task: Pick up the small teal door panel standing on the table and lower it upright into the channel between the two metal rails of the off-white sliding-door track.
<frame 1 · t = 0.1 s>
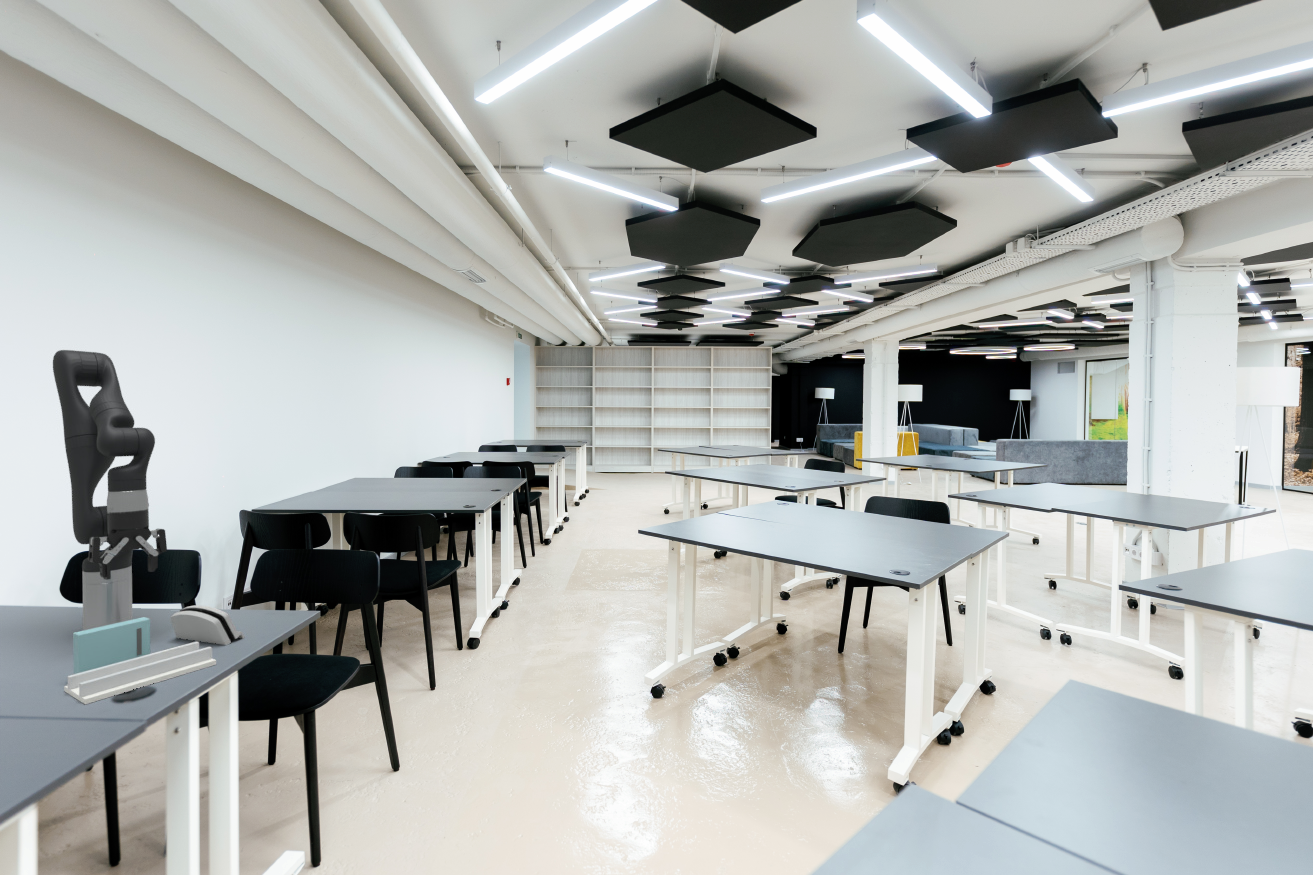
hand: (129, 575, 142), 17 cm above the table, tool pointing down, fingers open, 8 cm apart
grey arched block: (205, 641, 146), on the table
door panel: (113, 670, 128), on the table
door track: (144, 677, 125), on the table
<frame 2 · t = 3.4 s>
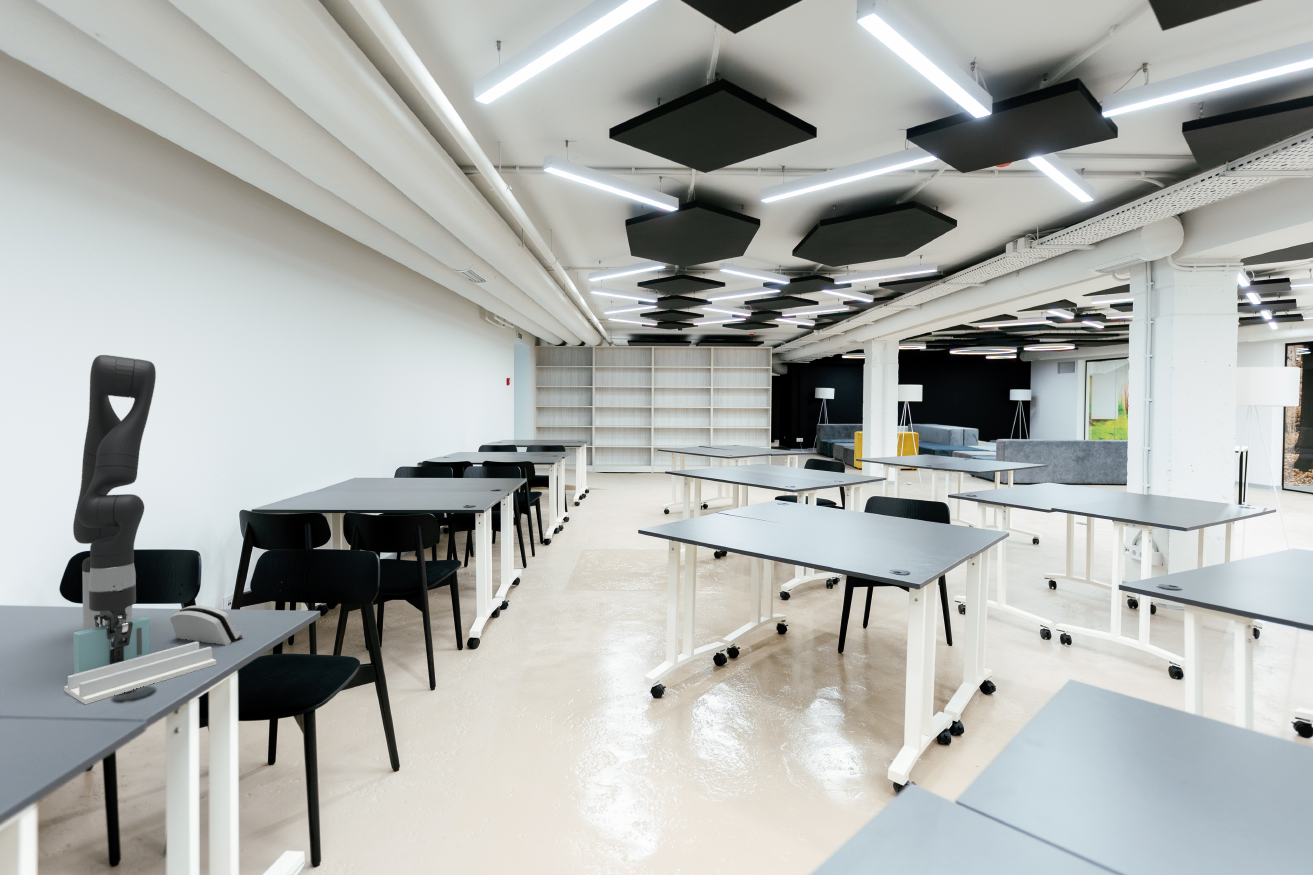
hand: (113, 662, 128), 2 cm above the table, tool pointing down, fingers closed on door panel, 3 cm apart
door panel: (113, 670, 128), on the table, touching gripper
everything else where it was.
when the fingers open (5 cm above the table, at t = 8.7 s): door panel drops 2 cm, resting on door track.
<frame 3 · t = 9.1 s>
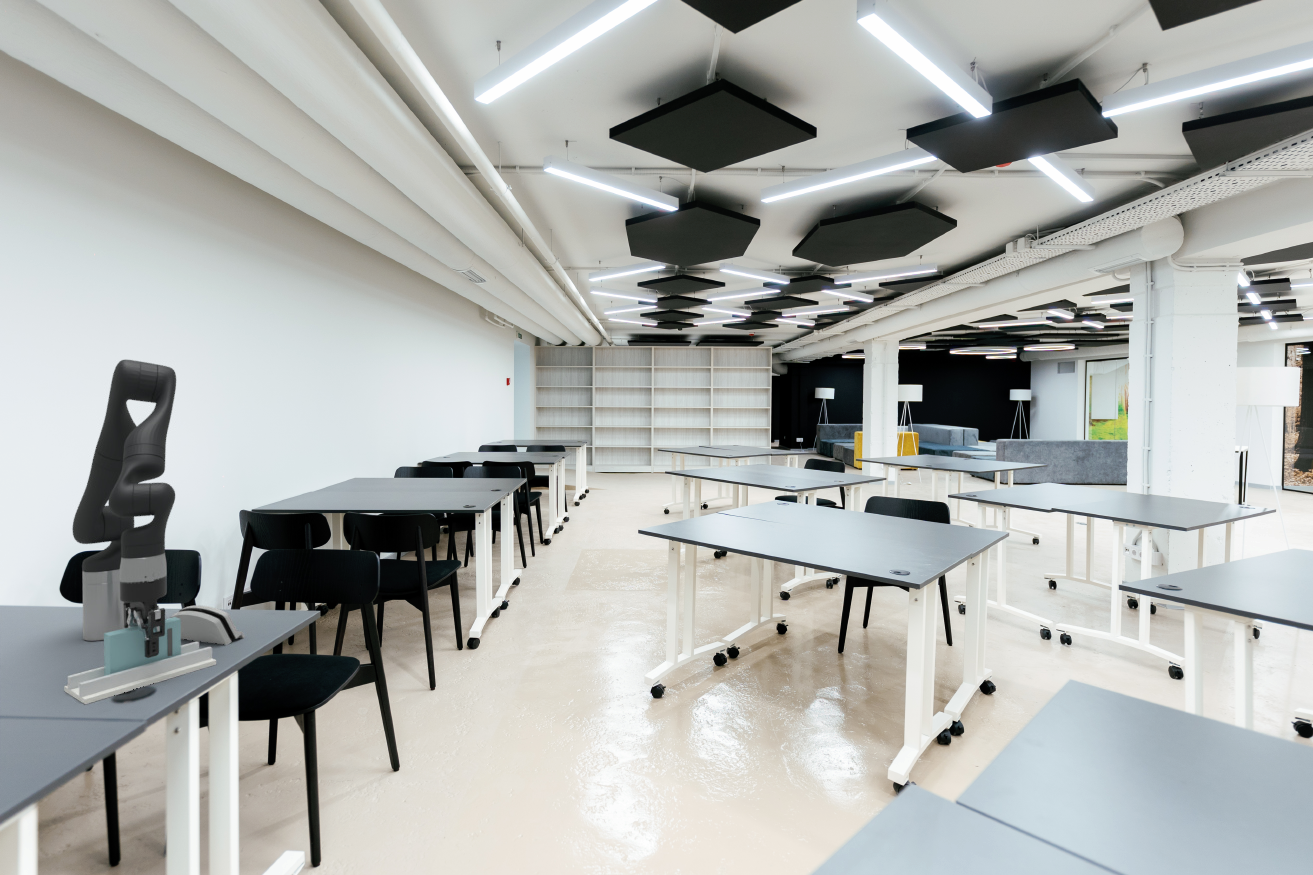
hand: (144, 652, 125), 5 cm above the table, tool pointing down, fingers open, 7 cm apart
door panel: (144, 672, 125), point 1 cm above the table, touching door track
everything else where it was.
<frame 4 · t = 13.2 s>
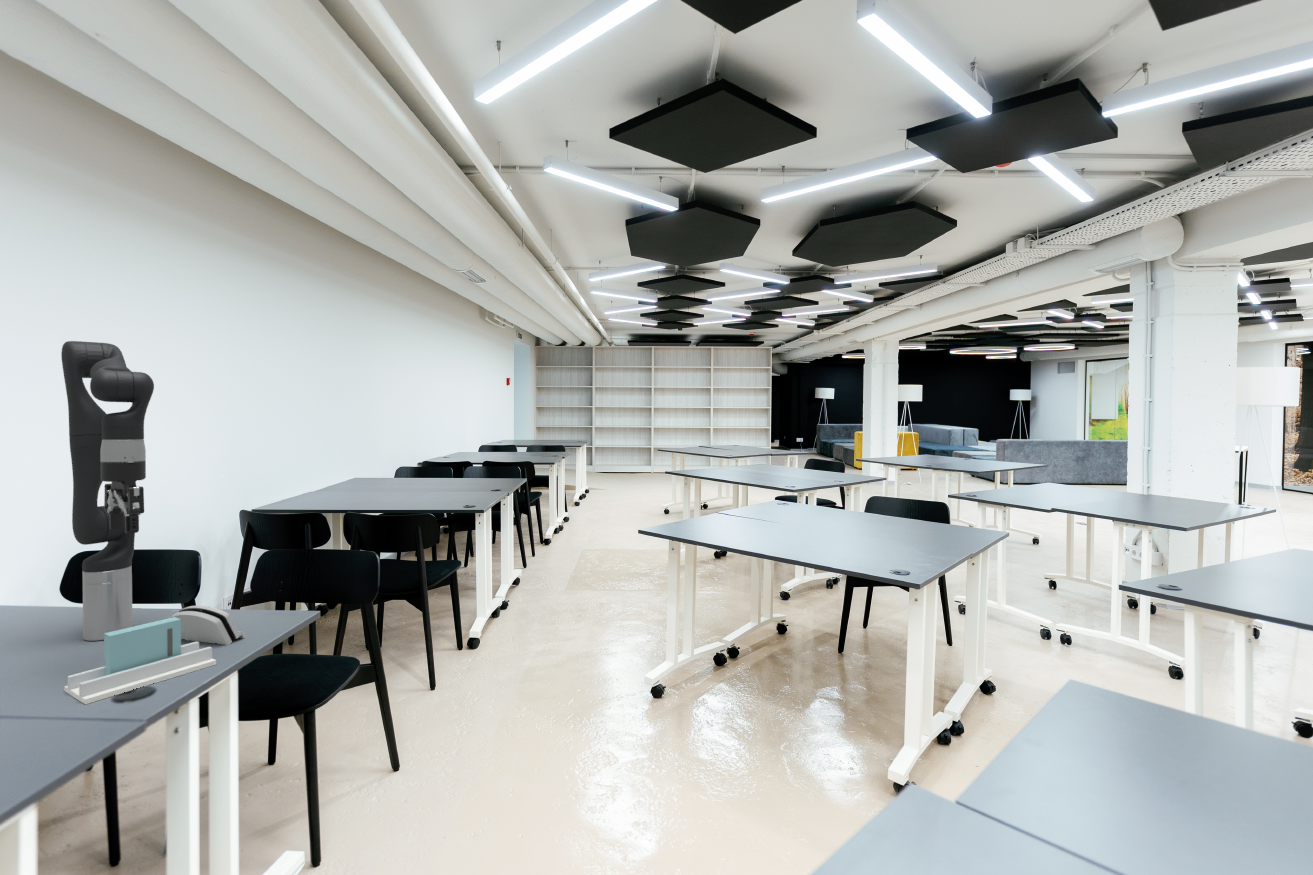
hand: (124, 530, 131), 30 cm above the table, tool pointing down, fingers open, 8 cm apart
nothing on the table moved.
at the end: door panel inside the target area on the door track (0.2 cm from its centre), point 1.0 cm above the door track's base; door panel tilted 0°; the gripper is holding nothing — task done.
